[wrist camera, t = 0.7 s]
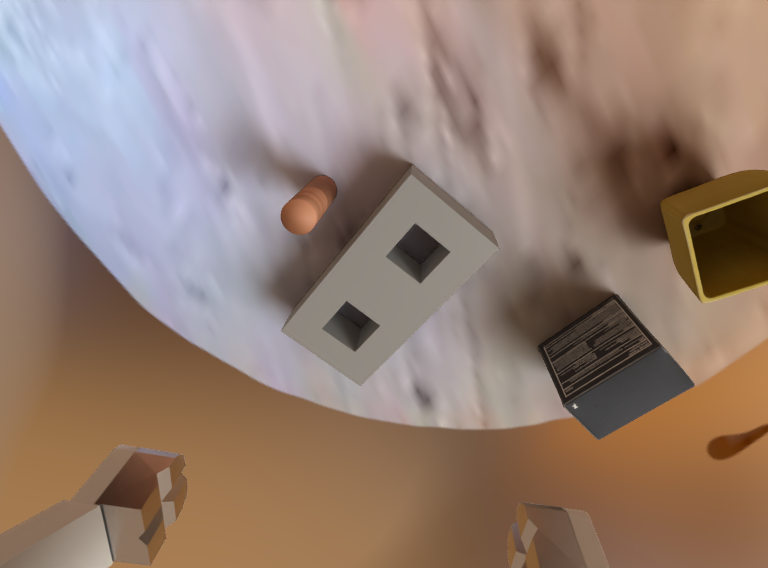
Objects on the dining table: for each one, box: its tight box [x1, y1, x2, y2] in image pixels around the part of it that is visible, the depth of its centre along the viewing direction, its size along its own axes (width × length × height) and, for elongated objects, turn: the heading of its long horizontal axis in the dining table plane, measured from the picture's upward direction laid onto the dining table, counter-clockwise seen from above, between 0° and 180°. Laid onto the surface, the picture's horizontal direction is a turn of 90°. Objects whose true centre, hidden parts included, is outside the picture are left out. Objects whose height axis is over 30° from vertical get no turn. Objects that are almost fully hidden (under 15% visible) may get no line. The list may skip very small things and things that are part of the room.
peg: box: [281, 176, 337, 235], centre depth 42 cm, size 3×3×10 cm
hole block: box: [281, 164, 499, 386], centre depth 48 cm, size 22×11×5 cm, turn 142°
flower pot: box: [660, 170, 768, 303], centre depth 41 cm, size 9×9×9 cm
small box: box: [538, 294, 695, 440], centre depth 47 cm, size 11×6×10 cm, turn 135°
